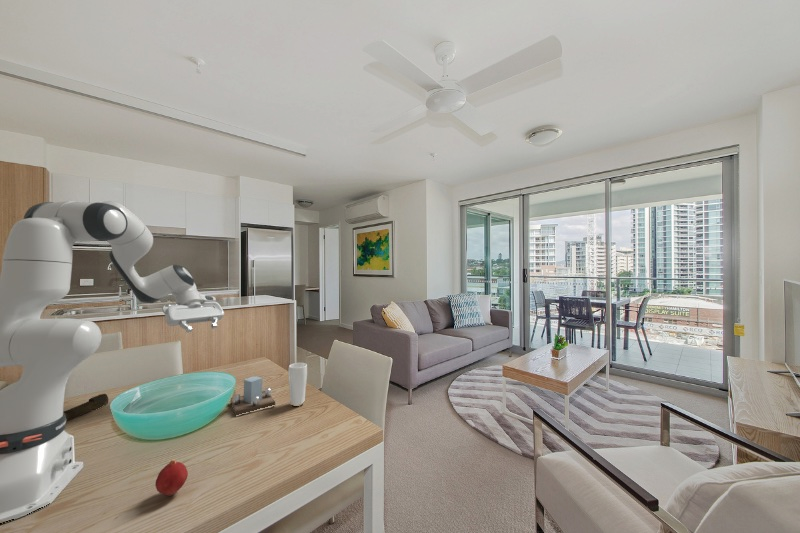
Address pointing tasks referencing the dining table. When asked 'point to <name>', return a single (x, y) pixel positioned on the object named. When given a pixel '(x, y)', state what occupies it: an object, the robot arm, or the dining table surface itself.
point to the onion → (171, 478)
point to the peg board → (244, 407)
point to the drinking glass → (297, 382)
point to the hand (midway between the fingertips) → (203, 329)
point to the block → (252, 388)
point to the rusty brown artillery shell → (87, 406)
